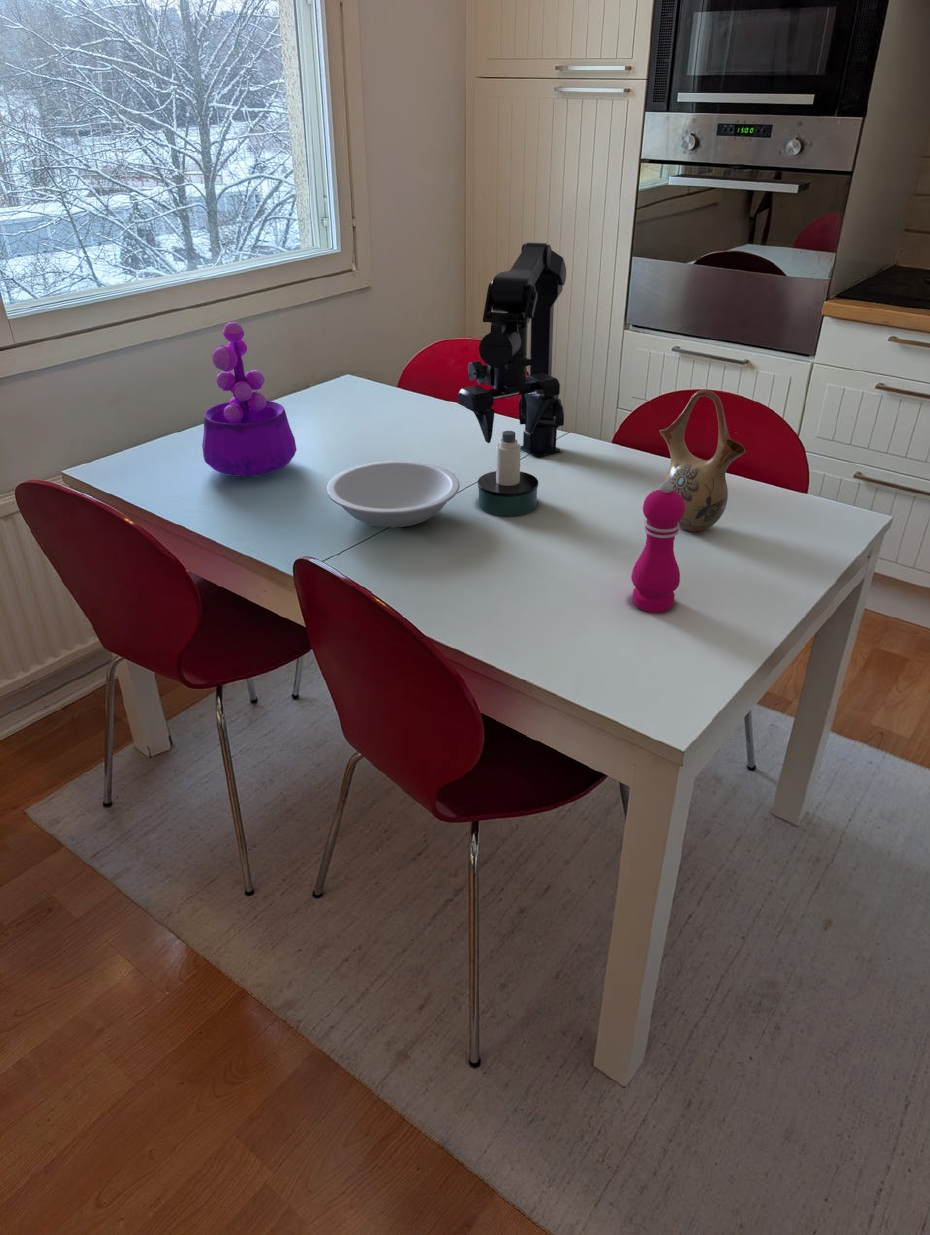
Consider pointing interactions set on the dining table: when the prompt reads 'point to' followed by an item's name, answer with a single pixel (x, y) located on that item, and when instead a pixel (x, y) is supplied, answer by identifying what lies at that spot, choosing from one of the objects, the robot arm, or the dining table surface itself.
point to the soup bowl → (393, 492)
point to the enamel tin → (507, 495)
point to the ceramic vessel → (700, 469)
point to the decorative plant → (244, 418)
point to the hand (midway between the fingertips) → (508, 437)
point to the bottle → (508, 460)
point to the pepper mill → (658, 551)
